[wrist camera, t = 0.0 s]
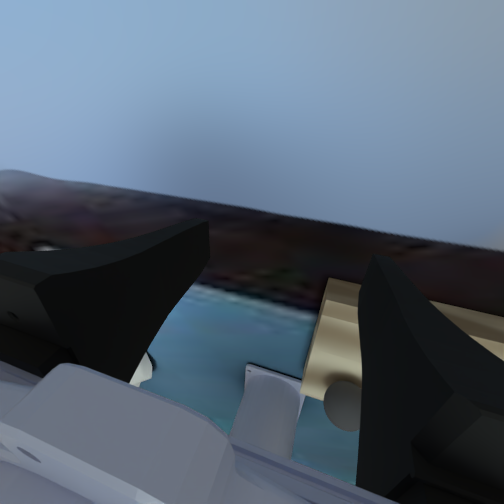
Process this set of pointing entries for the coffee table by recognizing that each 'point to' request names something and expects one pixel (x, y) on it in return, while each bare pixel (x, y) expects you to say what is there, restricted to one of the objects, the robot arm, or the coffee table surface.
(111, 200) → the coffee table surface
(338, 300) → the cream knobbed board
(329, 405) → the black rubber ball
